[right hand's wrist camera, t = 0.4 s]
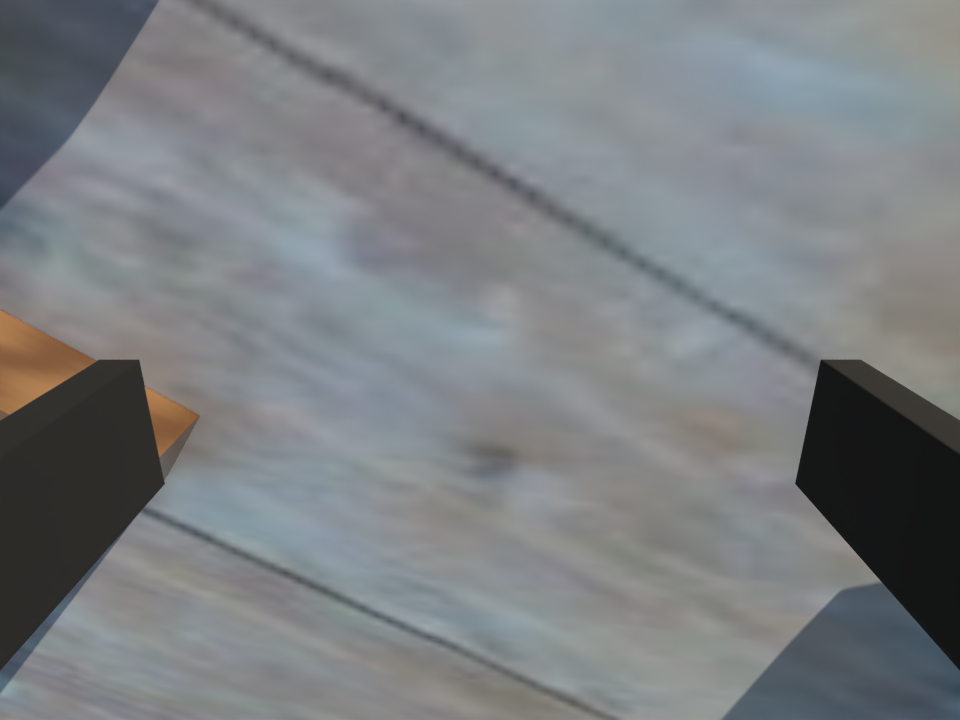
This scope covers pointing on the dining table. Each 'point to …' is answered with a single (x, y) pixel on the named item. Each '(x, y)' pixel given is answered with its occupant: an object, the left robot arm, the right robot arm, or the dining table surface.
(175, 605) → the dining table surface
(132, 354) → the dining table surface
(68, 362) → the post
